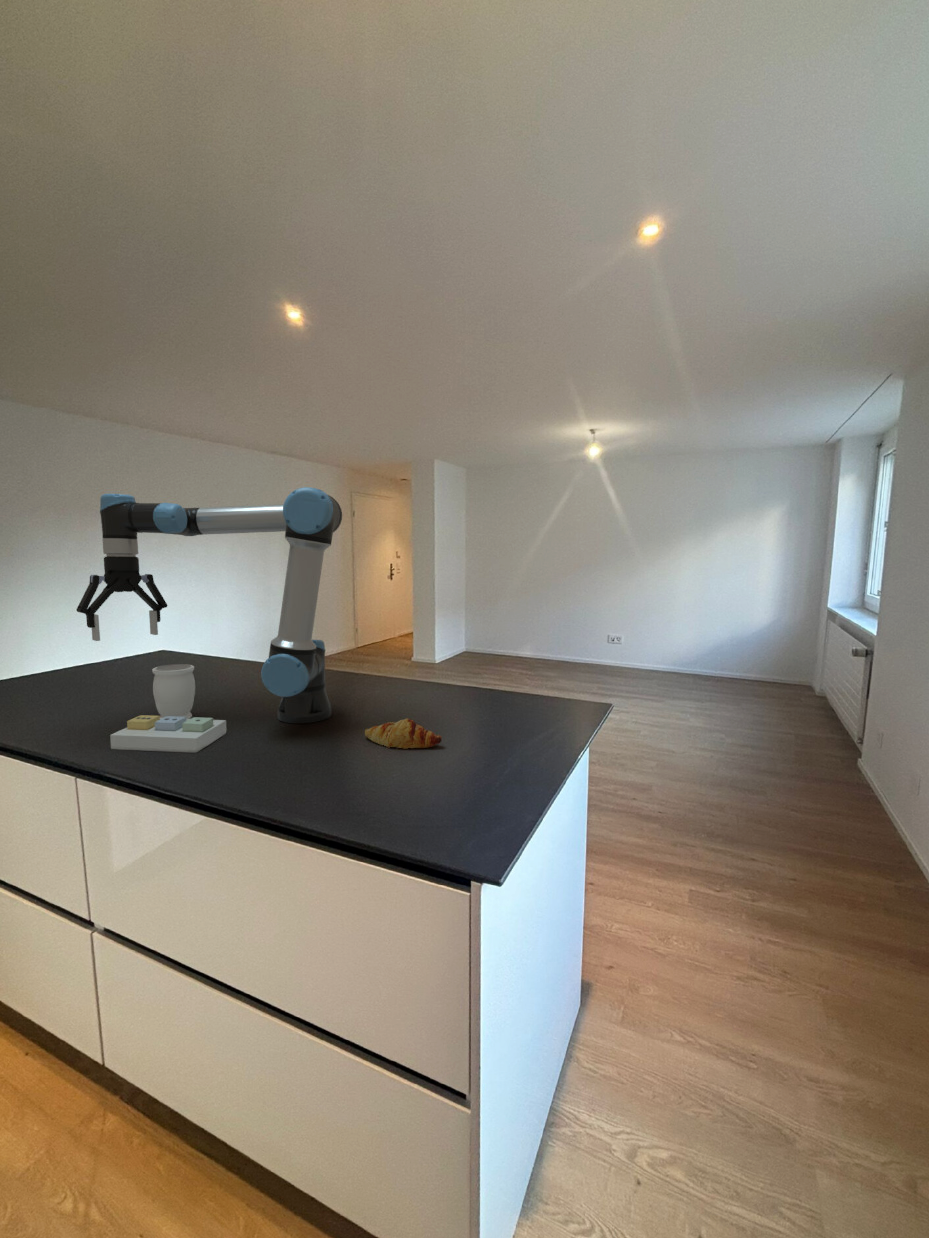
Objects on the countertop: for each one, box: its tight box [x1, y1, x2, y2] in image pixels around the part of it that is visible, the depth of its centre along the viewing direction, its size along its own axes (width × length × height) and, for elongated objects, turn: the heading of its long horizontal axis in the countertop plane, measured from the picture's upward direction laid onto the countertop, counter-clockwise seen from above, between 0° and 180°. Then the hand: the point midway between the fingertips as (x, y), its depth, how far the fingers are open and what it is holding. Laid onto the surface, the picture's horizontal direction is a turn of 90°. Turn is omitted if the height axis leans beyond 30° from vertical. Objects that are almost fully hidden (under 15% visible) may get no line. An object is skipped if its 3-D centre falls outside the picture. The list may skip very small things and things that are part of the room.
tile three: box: [126, 714, 160, 730], centre depth 129 cm, size 5×5×3 cm
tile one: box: [182, 716, 214, 732], centre depth 128 cm, size 5×5×3 cm
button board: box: [109, 718, 227, 754], centre depth 129 cm, size 21×14×4 cm, turn 87°
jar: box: [152, 663, 196, 719], centre depth 146 cm, size 11×10×15 cm
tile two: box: [155, 716, 186, 731], centre depth 129 cm, size 5×5×3 cm
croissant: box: [364, 718, 442, 750], centre depth 131 cm, size 21×10×8 cm, turn 75°
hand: (126, 637), depth 134 cm, fingers open, 13 cm apart
